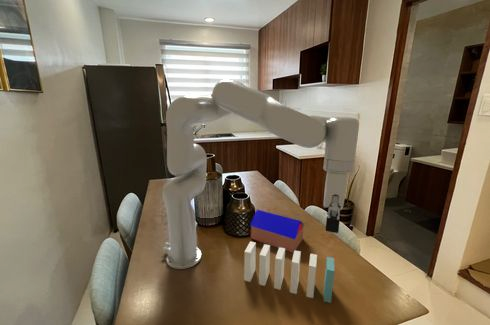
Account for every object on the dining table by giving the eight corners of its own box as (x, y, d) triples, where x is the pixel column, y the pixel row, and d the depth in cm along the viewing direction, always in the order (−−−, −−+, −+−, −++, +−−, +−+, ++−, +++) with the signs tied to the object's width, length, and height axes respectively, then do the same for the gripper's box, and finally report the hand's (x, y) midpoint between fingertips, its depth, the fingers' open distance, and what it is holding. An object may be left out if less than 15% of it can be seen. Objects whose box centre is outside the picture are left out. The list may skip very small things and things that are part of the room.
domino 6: (323, 301, 70) (327, 269, 67) (323, 286, 75) (326, 256, 72) (330, 303, 69) (334, 271, 66) (330, 288, 75) (333, 258, 72)
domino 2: (258, 284, 76) (259, 254, 73) (263, 272, 82) (264, 244, 79) (264, 285, 75) (265, 256, 73) (269, 273, 81) (270, 245, 78)
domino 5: (306, 296, 71) (308, 265, 69) (308, 282, 77) (310, 253, 74) (313, 298, 71) (316, 267, 68) (314, 284, 76) (317, 254, 73)
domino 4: (289, 292, 73) (291, 261, 70) (292, 279, 78) (294, 250, 76) (296, 294, 72) (298, 263, 69) (298, 280, 78) (300, 251, 75)
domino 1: (244, 280, 78) (244, 251, 75) (250, 268, 83) (250, 241, 80) (250, 282, 77) (250, 252, 74) (255, 270, 82) (255, 242, 80)
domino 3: (274, 288, 74) (275, 258, 72) (277, 275, 80) (279, 247, 77) (280, 289, 74) (281, 259, 71) (283, 276, 79) (285, 248, 77)
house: (262, 227, 111) (262, 204, 109) (303, 239, 101) (305, 214, 99) (249, 239, 101) (250, 214, 99) (294, 254, 91) (295, 227, 89)
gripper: (325, 156, 71) (320, 208, 75) (321, 171, 56) (315, 236, 60) (352, 159, 69) (345, 212, 73) (356, 175, 53) (347, 242, 57)
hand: (332, 223), depth 66 cm, fingers open, 9 cm apart
